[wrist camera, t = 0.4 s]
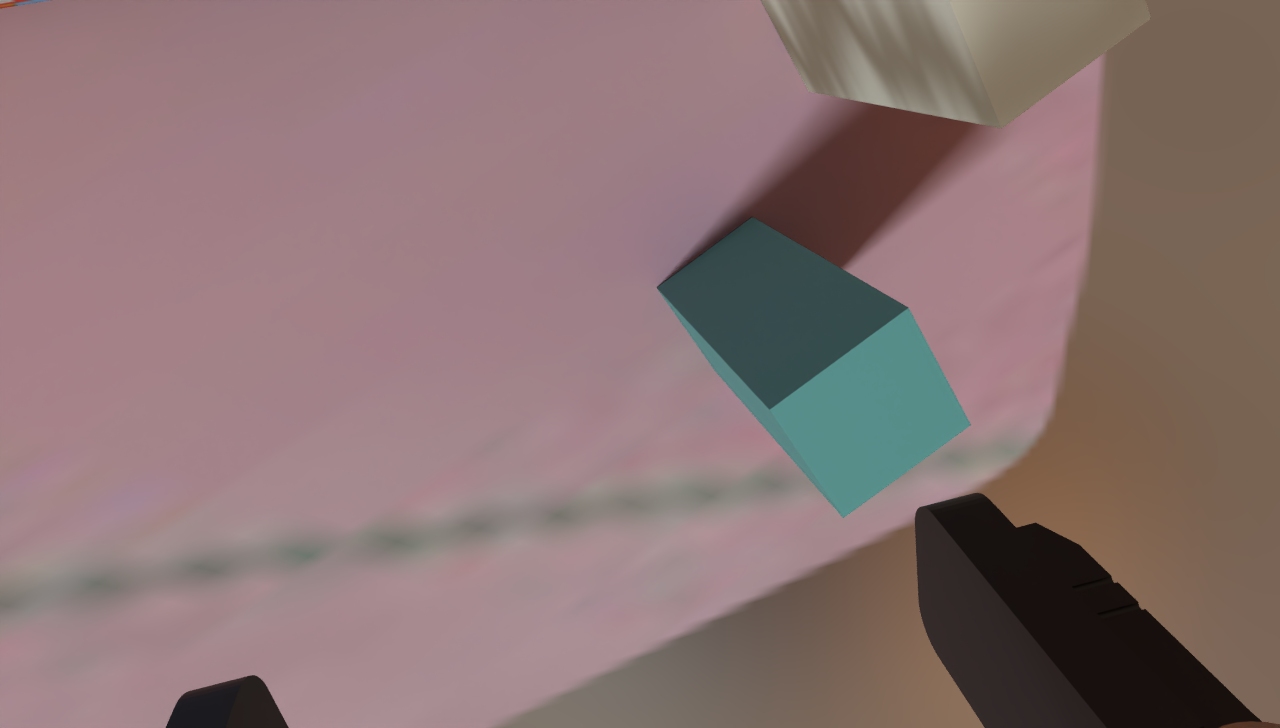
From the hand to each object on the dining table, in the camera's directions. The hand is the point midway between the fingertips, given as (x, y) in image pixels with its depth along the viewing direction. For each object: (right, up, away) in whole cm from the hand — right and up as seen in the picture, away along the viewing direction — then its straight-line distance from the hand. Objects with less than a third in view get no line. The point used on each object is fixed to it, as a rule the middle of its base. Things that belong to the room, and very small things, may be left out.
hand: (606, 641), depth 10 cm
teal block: (+4, +6, +23) cm, 24 cm away
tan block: (+7, +16, +19) cm, 26 cm away
